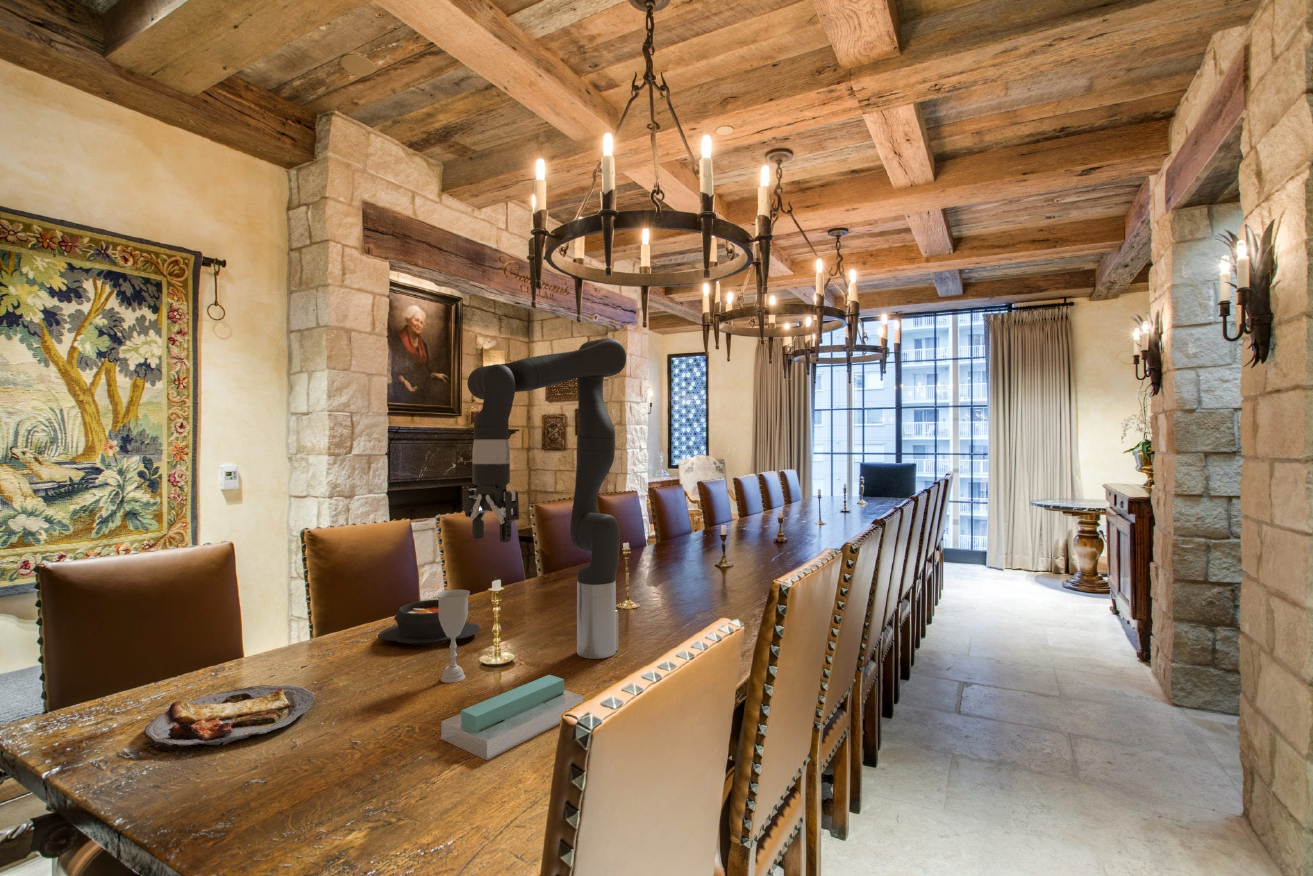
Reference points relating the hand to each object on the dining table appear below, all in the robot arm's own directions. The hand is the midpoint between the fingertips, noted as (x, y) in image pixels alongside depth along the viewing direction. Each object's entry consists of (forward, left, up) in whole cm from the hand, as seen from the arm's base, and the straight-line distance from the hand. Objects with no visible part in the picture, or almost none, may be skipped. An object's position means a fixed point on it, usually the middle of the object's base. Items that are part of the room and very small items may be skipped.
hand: (491, 540), depth 129 cm
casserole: (-11, -38, -30) cm, 50 cm away
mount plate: (+9, +18, -30) cm, 36 cm away
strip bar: (+9, +18, -30) cm, 36 cm away
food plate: (+38, -24, -30) cm, 54 cm away
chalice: (+2, -10, -30) cm, 32 cm away
